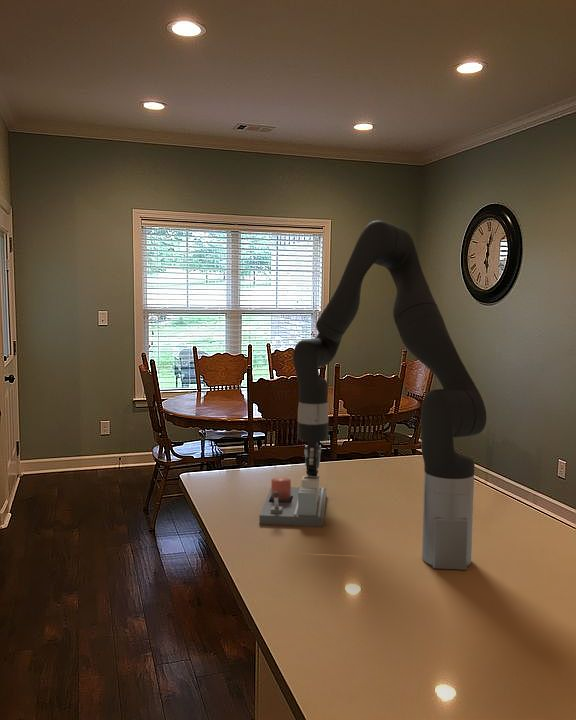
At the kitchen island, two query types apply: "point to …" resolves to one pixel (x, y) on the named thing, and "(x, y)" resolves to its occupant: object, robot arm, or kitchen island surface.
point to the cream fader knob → (311, 483)
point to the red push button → (281, 488)
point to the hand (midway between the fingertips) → (312, 489)
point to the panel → (291, 510)
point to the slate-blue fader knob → (307, 501)
